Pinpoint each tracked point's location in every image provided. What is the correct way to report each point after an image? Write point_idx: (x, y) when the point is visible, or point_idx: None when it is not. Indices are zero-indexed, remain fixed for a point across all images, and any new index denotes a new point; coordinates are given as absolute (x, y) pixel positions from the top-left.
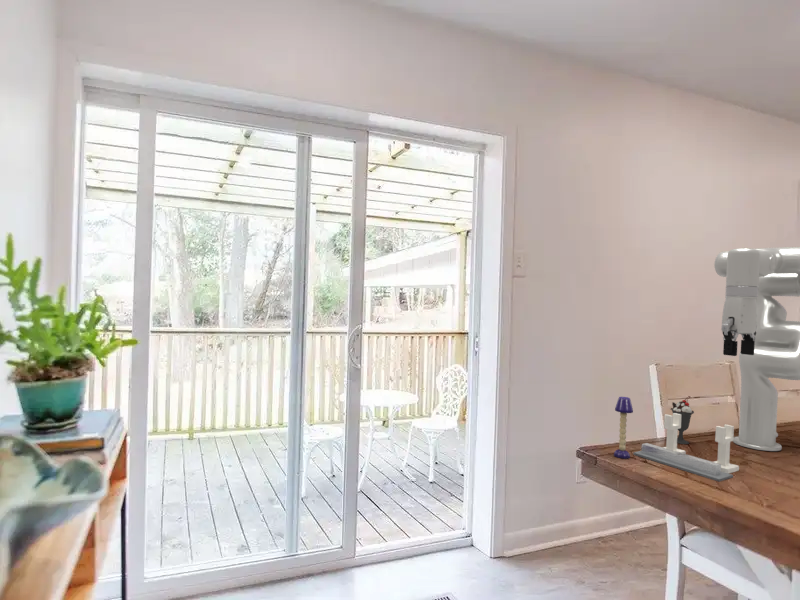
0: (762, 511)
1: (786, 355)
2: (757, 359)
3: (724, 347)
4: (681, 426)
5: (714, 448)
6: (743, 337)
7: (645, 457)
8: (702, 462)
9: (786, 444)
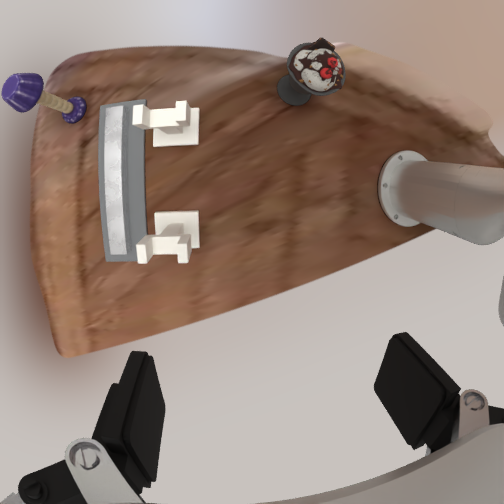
0: (72, 331)
1: None
2: None
3: (119, 391)
4: (291, 84)
5: (315, 149)
6: (454, 420)
7: (99, 130)
8: (108, 230)
9: None
